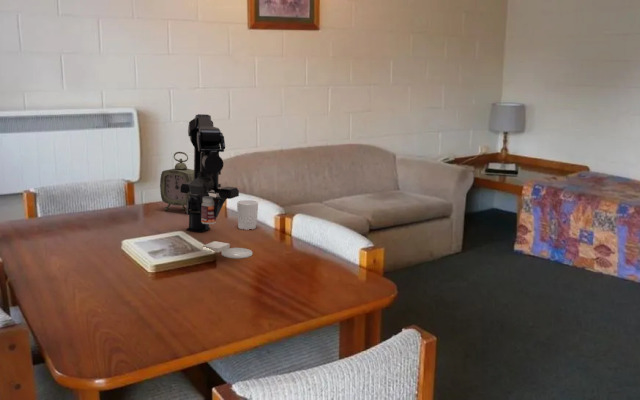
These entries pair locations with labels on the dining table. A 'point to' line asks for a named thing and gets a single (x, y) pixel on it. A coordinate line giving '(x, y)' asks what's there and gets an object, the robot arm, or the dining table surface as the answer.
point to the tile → (217, 246)
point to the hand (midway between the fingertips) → (209, 216)
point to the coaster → (236, 253)
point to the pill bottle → (207, 210)
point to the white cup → (247, 214)
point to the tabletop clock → (175, 183)
